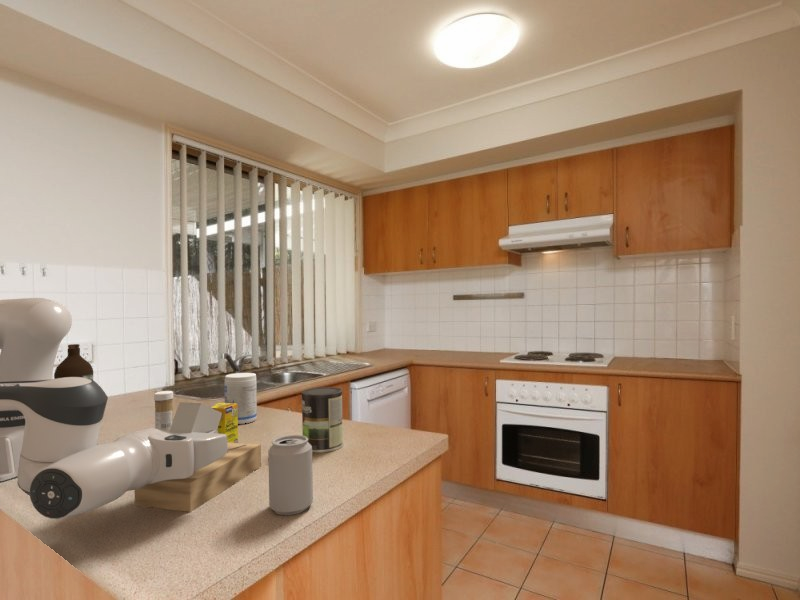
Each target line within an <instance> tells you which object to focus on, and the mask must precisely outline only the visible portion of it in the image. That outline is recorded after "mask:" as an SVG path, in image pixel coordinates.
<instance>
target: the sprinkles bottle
mask: <svg viewBox="0 0 800 600" xmlns="http://www.w3.org/2000/svg"><path fill="white" fill-rule="evenodd" d="M173 399H174V392H173V391H172V390H162V391H158V392H157V391H156V392H155V393H154V394H153V400H154V424H155V425H154V428H155V429H158V430H162V431H170V428H171V425H172V422H173V420H174V407H173V405H174V403H173V401H174V400H173Z"/></svg>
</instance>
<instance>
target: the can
mask: <svg viewBox="0 0 800 600" xmlns="http://www.w3.org/2000/svg"><path fill="white" fill-rule="evenodd" d="M307 441H308V438H307V437H305V436H303V434H302V435H301V434H300V435H299V434H291V435H289V434H288V435H283V436H279V437H276V438H275V439H273V440H272V441H271V444H272V445H271V446H270V448H269V449H268V451H267V454H268V456H267V457H268V465H267V466H268V498H269V499H268V505H269V508H270V509H271V510H272V511H274V512H275V514H277V515H280V516H281V515H283V516H285V515H286V516H291V515H297V514H300V513H302V512H304V511H306V510H307V509H308V508H309V506H310V505H311V504H312V503H313V501H314V481H313V480H314V479H313V452H312V446H311V445H310V444H309V443H308V442H307Z"/></svg>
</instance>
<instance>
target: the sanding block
mask: <svg viewBox="0 0 800 600" xmlns="http://www.w3.org/2000/svg"><path fill="white" fill-rule="evenodd" d="M221 415H222V413H221V412H219V411H217V410H215V409H213V408H210V407H209V406H208V405H206V404H205V403H203V402H188V401H187V402H185V401H184V402H183V401H182V402H181V401H180V402H178V406H177V409H176V411H175V415H174V416H173V422H172V425H171V428H170V431H169V432H186V433H192V432H199V433H206V432H207V431H210V430H217V429H218V425H219V422H220V419H221Z"/></svg>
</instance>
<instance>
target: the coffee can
mask: <svg viewBox="0 0 800 600" xmlns="http://www.w3.org/2000/svg"><path fill="white" fill-rule="evenodd" d="M300 393H301V394H300V395H301V415H302V416H301V418H302V419H301V421H302V424H301V425H302V436H305V437H307V438H308V441H307V442H308V443H309V444H310V445H311V446H312V454H313V453H316V454H323V453H331V452H334V451H337V450H339V449H341V448H343V446H344V442H343V441H344V440H343V438H344V437H343V435H344V434H343V430H344V429H343V389H342V388H340V387H335V386H333V387H332V386H321V387H312V388H307V389H304V390H302V391H301V392H300Z"/></svg>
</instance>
